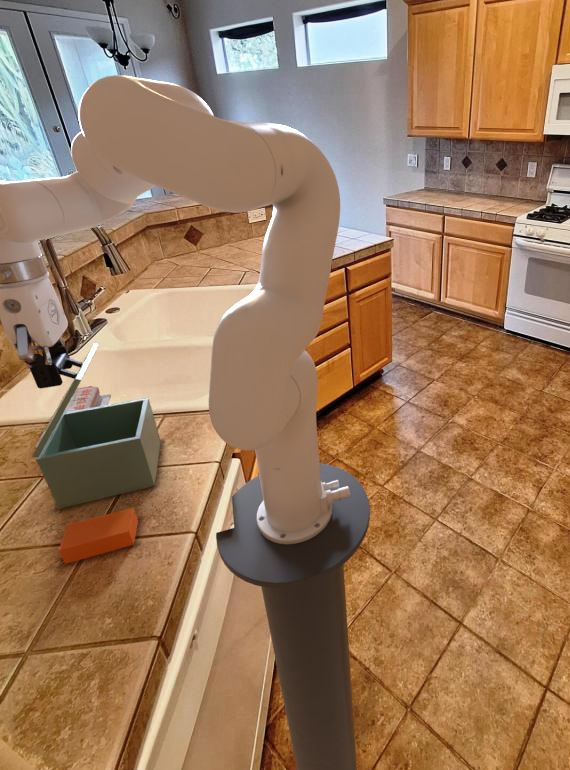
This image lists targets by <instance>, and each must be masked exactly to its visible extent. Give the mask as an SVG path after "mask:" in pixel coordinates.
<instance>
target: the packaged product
mask: <svg viewBox="0 0 570 770" xmlns="http://www.w3.org/2000/svg"><path fill="white" fill-rule="evenodd" d="M67 391H68V389H67V390H66V392H67ZM64 396H65V394H64V395H63V396H62V398H61V400H60V402H59V404H58V405H57V408H56V409H55V412H56V411H57V409H58V407H59V405H60V403H61V402H62V400H63V398H64ZM111 398H112V395H111V394H105V395H101V394H100V388H99V387H98V386H94V385H89V386H83V387H77V389H76V391H75V393H74V394H73V396H72V398H71V400H70V401H69V403H68V405H67V407H66V409H65V410H64V412H63V413H65V412H71V411H76V410H82V409H88V408H93V407H99V406H105V405H109V404H110V400H111ZM55 412H54V413H53V415H52V417H51V418H50V420H49V422H48V424H47V425H46V427H45V428H44V431H43V432H42V433H41V435H40V438H38V441H37V443H36V444H35V446H34V449H35V450H36V448H37V446H38V444H39V443H40V441H41V439H42V437H43V435H44V433H45V431H46V429H47V428H48V426H49V424H50V422H51V420H52V418H53V416H54V414H55Z"/></svg>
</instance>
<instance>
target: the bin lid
mask: <svg viewBox="0 0 570 770" xmlns="http://www.w3.org/2000/svg"><path fill="white" fill-rule="evenodd" d="M99 346H100V344H99V343H96V342H93V344H92V346H91V347H90V349H89V351H88V353H87V354H86V356H85V357H84V360H83V362H81V361H79V360H76V359H73V358H71V357H70V358H68V356H67V354H65V353H62V352H59V353H57V354H56V355H55V356H54V358H53V359H52V362H55V363H56V366H57V368H58V371H59V373H60V376H64V377H67V378H70V379H73V380H72V381H71V383H70V385H69V387H68V389H67V390H68V391H67V390H66V392H65V393H64V395H65V396H64V395H63V397H64V398H63V397H62V399H63V400H62V399H61V400H62V402H61V401H60V402H61V403H60V402H59V404H60V405H59V404H58V406H59V407H58V406H57V408H58V409H57V408H56V409H57V411H56V410H55V411H56V412H54V413H55V414H54V413H53V415H54V416H53V415H52V416H53V418H52V417H51V418H52V420H51V419H50V420H51V422H50V421H49V422H50V424H49V423H48V424H49V426H48V428H47V429H46V428H45V429H46V431H45V430H44V431H45V433H44V435H43V437H42V439H41V441H40V443H39V444H38V446H37V448H36V449H35V450H34V452H33V454H32V456H31V457H32V458H36V459H37V458H38V457H39V455H40V454H41V452H42V450H43V448H44V446H45V445H46V443H47V441H48V439H49V437H50V436H51V434H52V432H53V430H54V428H55V427H56V425H57V423H58V421H59V419H60V418H61V416H62V414H63V412H64V410H65V409H66V407H67V405H68V403H69V401H70V400H71V398H72V396H73V394H74V393H75V391H76V389H77V388H79V385H80V384H81V382H82V380H83V377H84V376H85V374H86V372H87V370H88V369H89V366H90V363H91V362H92V359H93V358H94V355H95V354H96V351H97V349H98V347H99ZM65 363H68V364H71V365H72V366H74V367H76V368H79V369H78V371H77V372H73V371H70V370H68V369H62V368H63V366H64V365H65Z"/></svg>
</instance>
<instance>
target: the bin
mask: <svg viewBox="0 0 570 770" xmlns="http://www.w3.org/2000/svg"><path fill="white" fill-rule="evenodd" d="M161 442H162V440H161V436H160V433H159V430H158V426H157V423H156V419H155V415H154V413H153V408H152V405H151V402H150V398H149V397H144V398H139V399H135V400H129V401H121V402H117V403H109V404H108V405H105V406H99V407H93V408H88V409H82V410H76V411H71V412H65V413H63V414H62V416H61V418H60V419H59V421H58V423H57V425H56V427H55V428H54V430H53V432H52V434H51V436H50V437H49V439H48V441H47V443H46V445H45V446H44V448H43V450H42V452H41V454H40V455H39V457H38V458H36V459H35V461H36V463H37V465H38V467H39V469H40V471H41V473H42V476H43V478H44V480H45V483H46V485H47V487H48V489H49V491H50V493H51V495H52V498H53V500H54V502H55V504H56V506H57V508H58V510H60V509H64V508H68V507H72V506H75V505H76V506H77V505H80V504H84V503H89V502H93V501H97V500H101V499H106V498H109V497H113V496H118V495H122V494H127V493H131V492H134V491H139V490H143V489H147V488H152V487H154V486H156V481H157V480H156V479H157V471H158V465H159V459H160V458H159V457H160V451H161Z"/></svg>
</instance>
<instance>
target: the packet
mask: <svg viewBox="0 0 570 770" xmlns="http://www.w3.org/2000/svg"><path fill="white" fill-rule="evenodd" d="M138 524H139V519H138V516H137V514H136V511H135V508H134V507H131V508H126V509H123V510H119V511H114V512H110V513H107V514H103V515H99V516H95V517H91V518H87V519H83V520H80V521H75V522H72V523H71V522H70V523H68V524H66V527H65V531H64V533H63V536H62V539H61V541H60V545H59V548H58V552H59V555H60V556H61V558H62V561H63V562H64V565H66V564H67V565H68V564H70V563H74V562H77V561H80V560H81V561H82V560H85V559H88V558H91V557H96V556H99V555H102V554H106V553H109V552H113V551H117V550H120V549H124V548H127V547H131V546H134V545H135V541H136V534H137V529H138Z"/></svg>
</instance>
